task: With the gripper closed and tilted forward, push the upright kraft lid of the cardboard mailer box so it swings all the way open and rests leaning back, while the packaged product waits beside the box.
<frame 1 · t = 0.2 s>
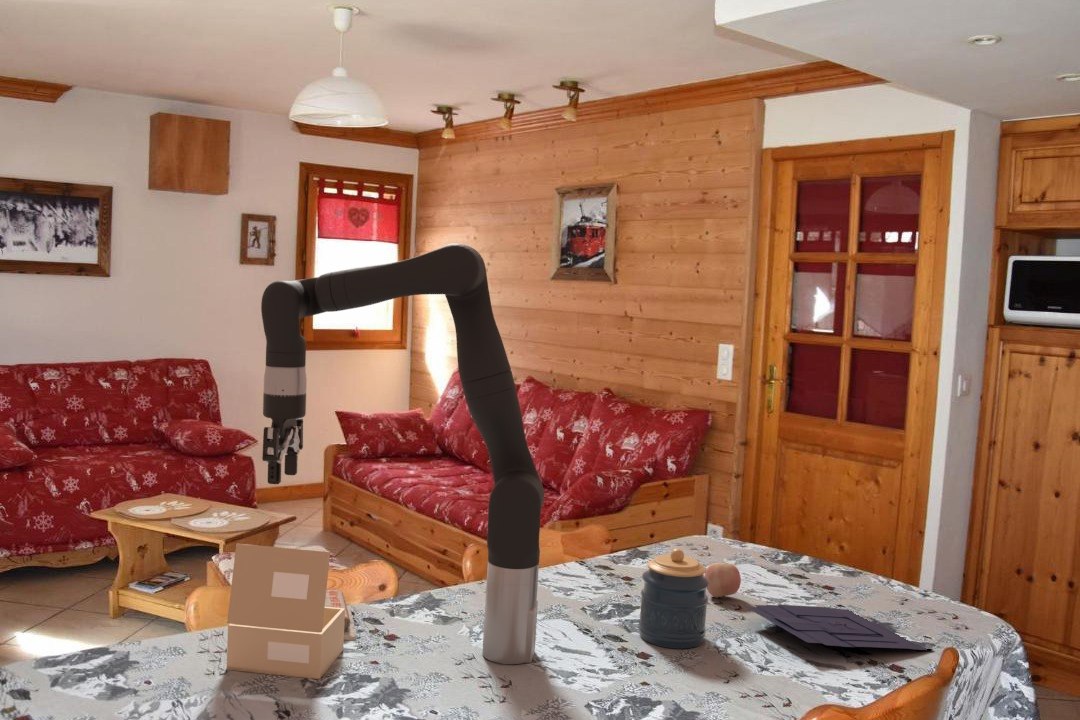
hand: (282, 479, 179), 29 cm above the table, fingers open, 8 cm apart
mailer box: (286, 659, 169), on the table
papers: (833, 638, 197), on the table
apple: (720, 598, 218), on the table
lid: (278, 587, 162), point 14 cm above the table, hinge at 78.0°
canister: (671, 638, 191), on the table
packaged product: (326, 626, 187), on the table
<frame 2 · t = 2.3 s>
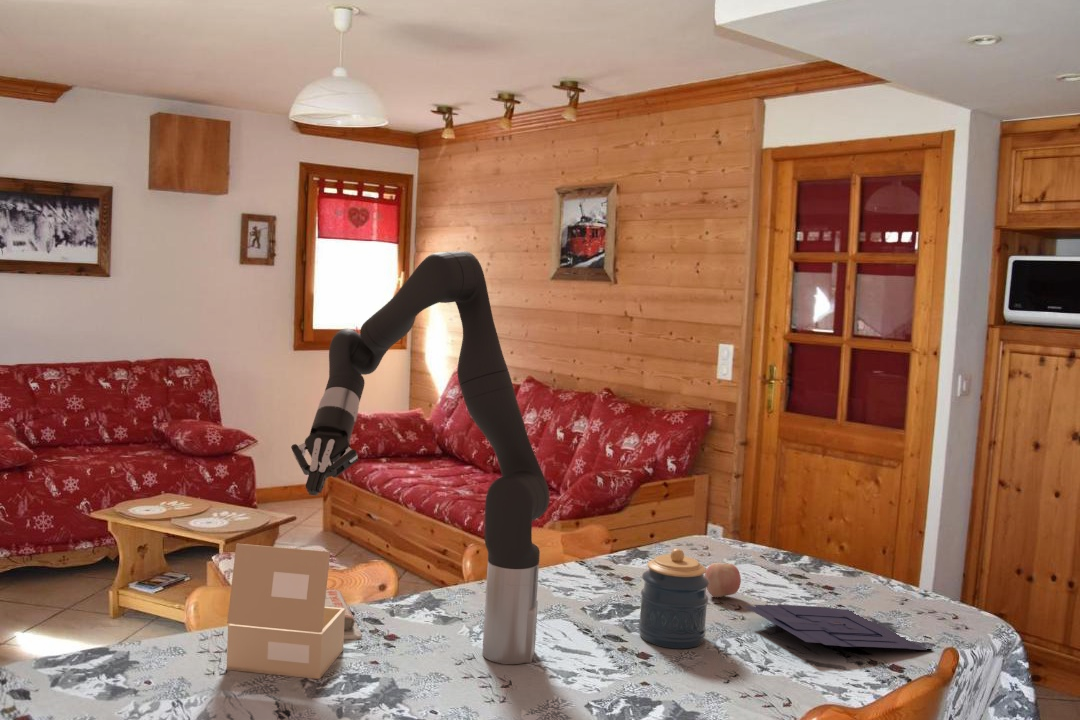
hand: (312, 492, 176), 27 cm above the table, fingers closed
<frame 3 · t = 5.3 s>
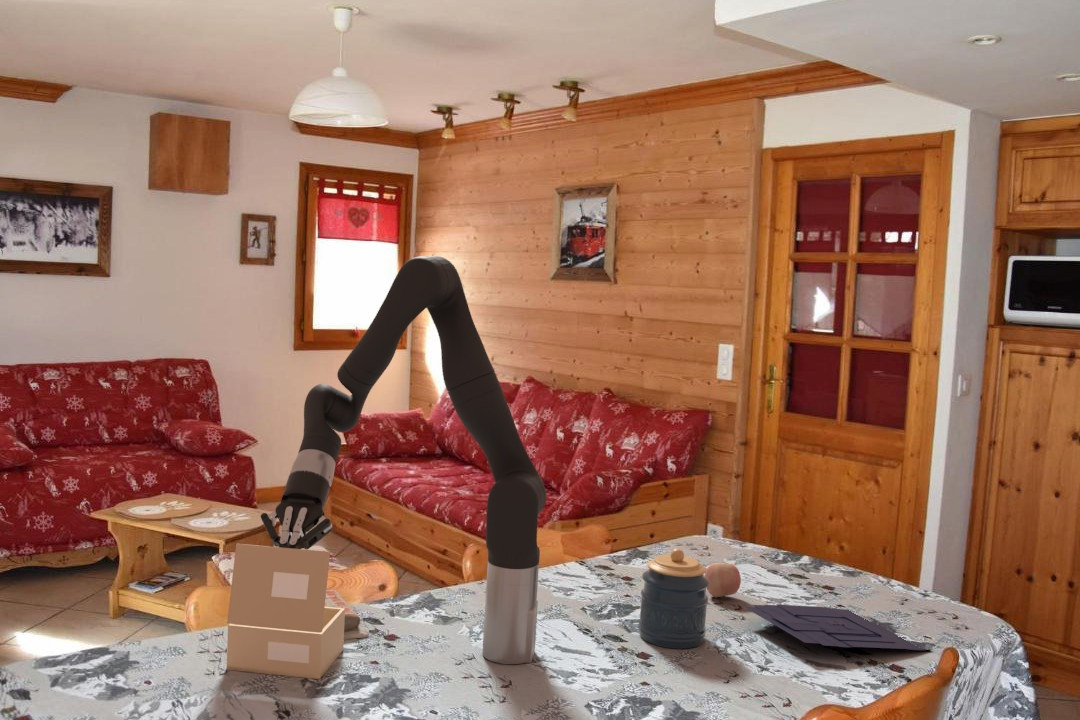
hand: (282, 567, 163), 17 cm above the table, fingers closed
lid: (278, 587, 162), point 14 cm above the table, hinge at 78.1°, touching gripper
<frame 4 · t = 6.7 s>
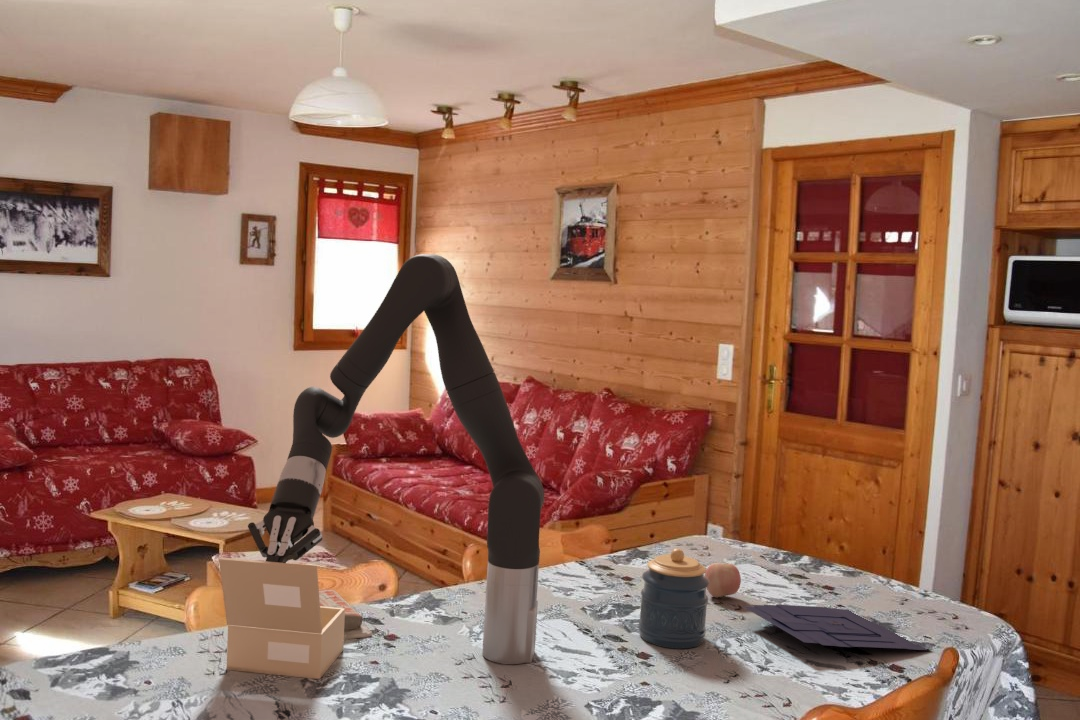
hand: (270, 579, 158), 17 cm above the table, fingers closed
lid: (270, 596, 159), point 14 cm above the table, hinge at 108.9°, touching gripper
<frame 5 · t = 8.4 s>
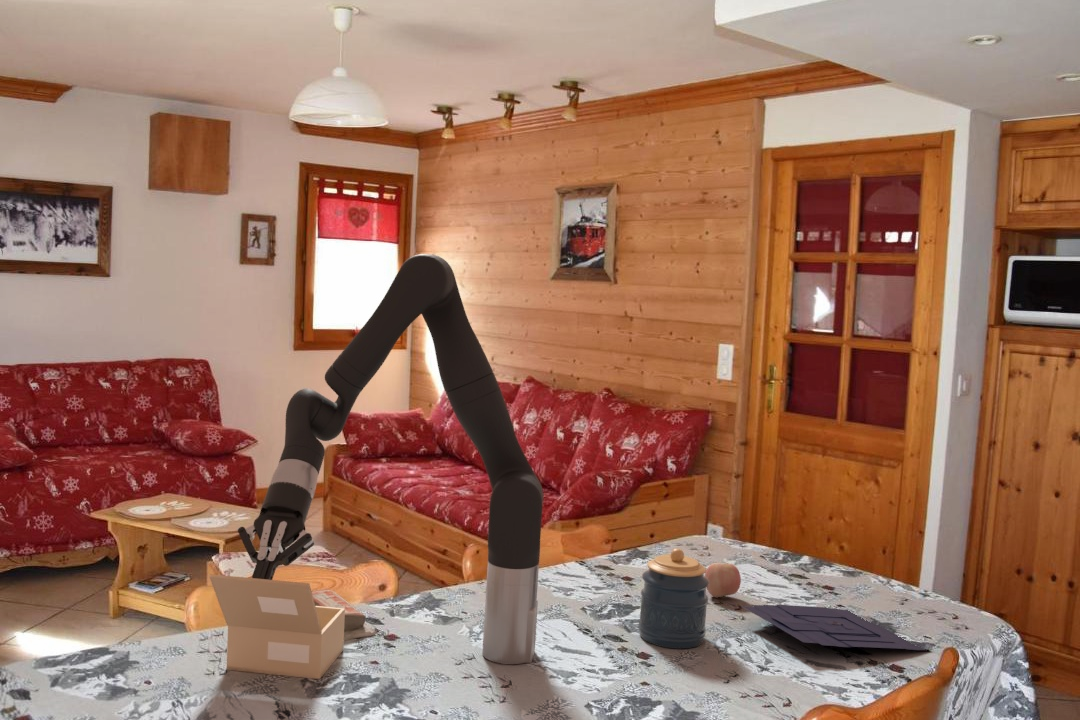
hand: (259, 585, 154), 17 cm above the table, fingers closed
lid: (266, 605, 157), point 13 cm above the table, hinge at 125.9°, touching gripper
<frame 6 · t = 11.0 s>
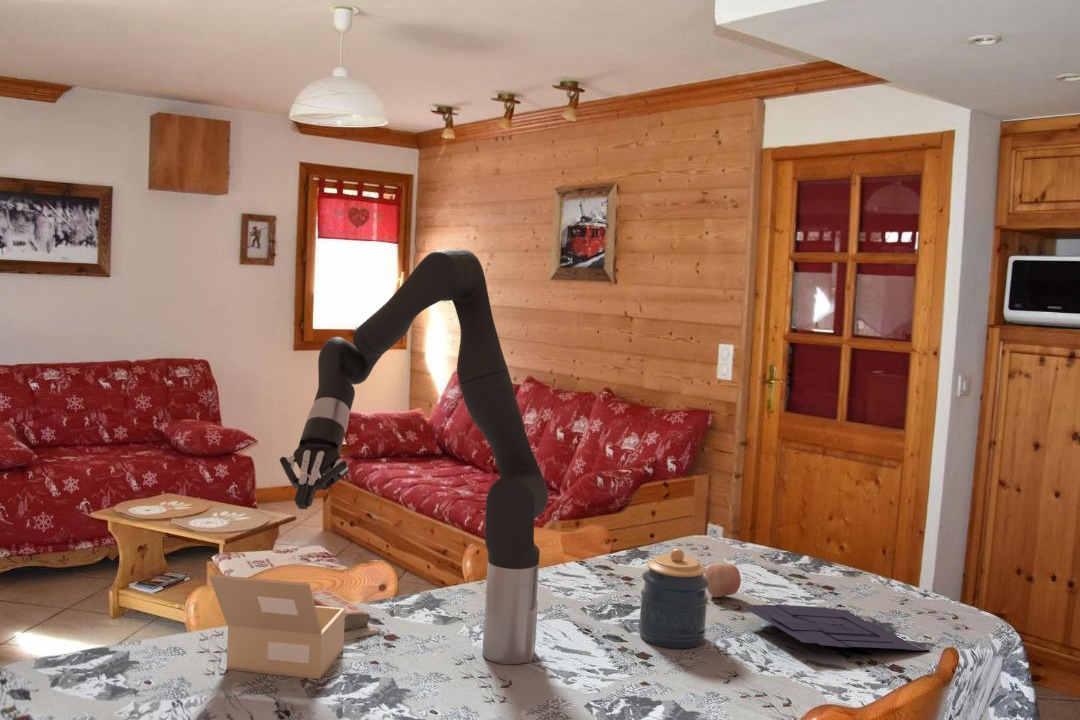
hand: (301, 506, 171), 26 cm above the table, fingers closed
lid: (266, 605, 157), point 13 cm above the table, hinge at 125.9°
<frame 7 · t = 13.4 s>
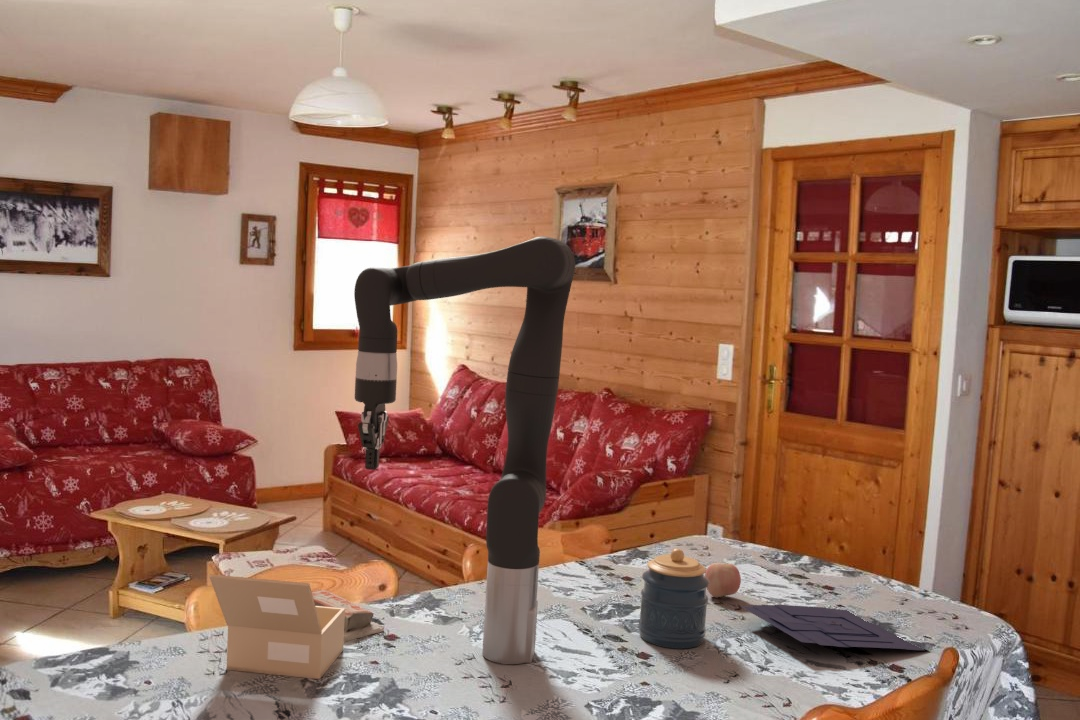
hand: (371, 468, 182), 31 cm above the table, fingers closed
at the end: lid at +126° (first picture: +78°); lid touching nothing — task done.
